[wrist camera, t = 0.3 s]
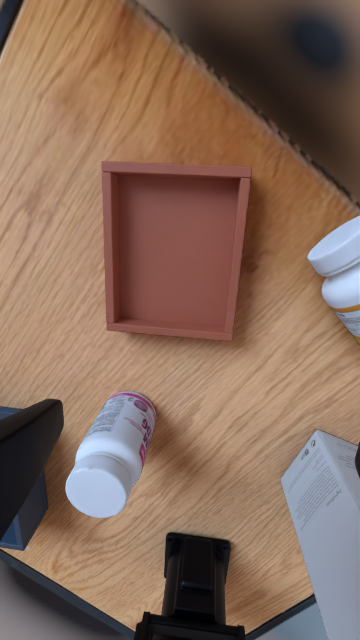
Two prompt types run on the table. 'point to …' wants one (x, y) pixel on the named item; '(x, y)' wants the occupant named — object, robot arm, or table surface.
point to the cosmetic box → (329, 528)
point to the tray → (173, 247)
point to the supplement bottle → (341, 272)
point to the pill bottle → (112, 455)
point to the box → (25, 509)
